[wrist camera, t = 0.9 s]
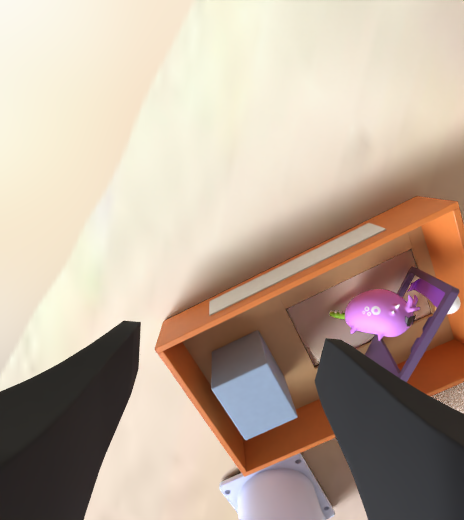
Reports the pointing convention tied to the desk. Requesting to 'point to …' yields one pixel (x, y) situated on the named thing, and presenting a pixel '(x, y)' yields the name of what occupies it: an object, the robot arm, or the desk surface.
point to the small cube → (251, 386)
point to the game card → (399, 317)
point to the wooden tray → (288, 341)
